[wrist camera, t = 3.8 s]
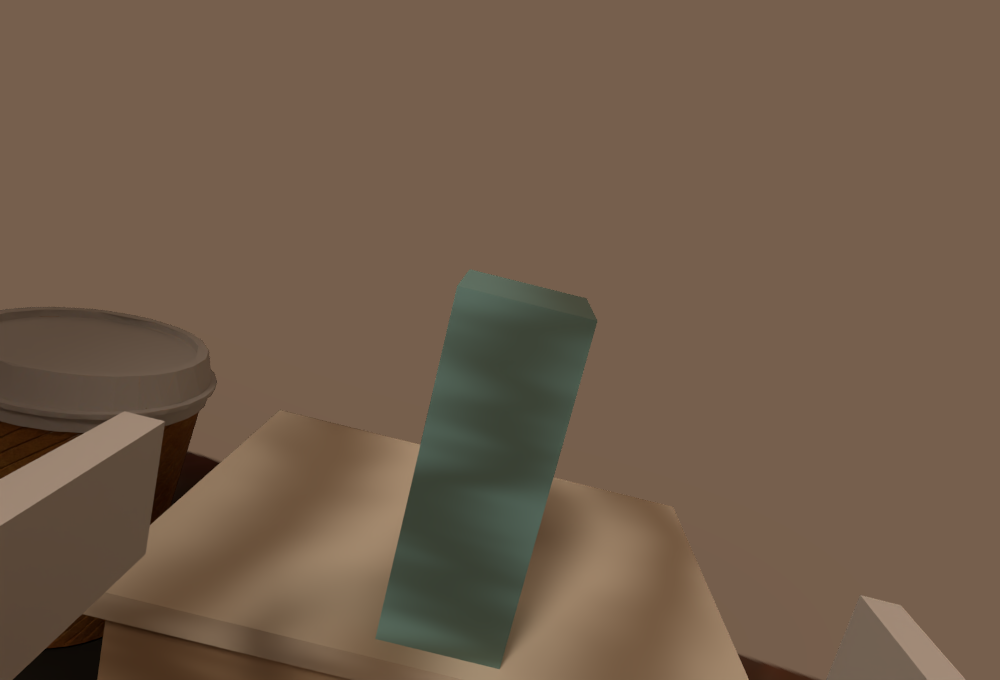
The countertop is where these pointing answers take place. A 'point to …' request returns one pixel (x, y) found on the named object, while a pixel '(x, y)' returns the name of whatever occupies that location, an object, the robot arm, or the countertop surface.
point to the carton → (185, 659)
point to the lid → (437, 533)
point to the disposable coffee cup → (97, 392)
